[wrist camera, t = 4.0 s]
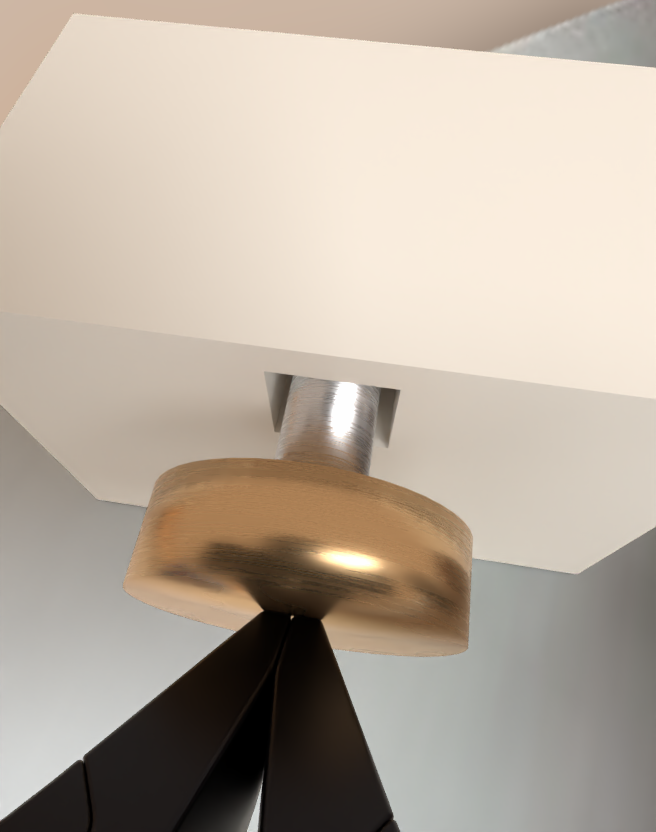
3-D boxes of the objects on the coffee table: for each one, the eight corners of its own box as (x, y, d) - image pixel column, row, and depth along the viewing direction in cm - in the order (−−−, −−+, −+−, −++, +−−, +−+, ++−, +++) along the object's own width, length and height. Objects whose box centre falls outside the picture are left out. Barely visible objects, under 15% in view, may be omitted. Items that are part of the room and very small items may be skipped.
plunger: (435, 666, 11) (513, 625, 6) (170, 621, 11) (64, 551, 7) (465, 228, 16) (519, 33, 11) (282, 207, 16) (266, 11, 12)
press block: (576, 574, 16) (828, 421, 8) (97, 499, 17) (-110, 296, 9) (567, 341, 20) (734, 74, 12) (172, 291, 21) (73, 13, 13)
